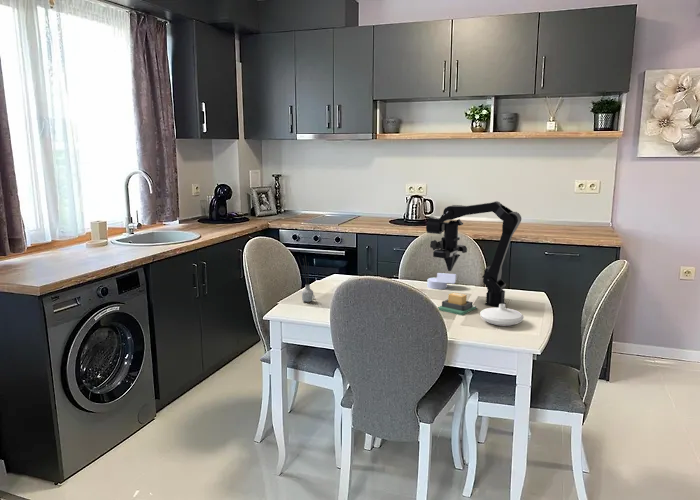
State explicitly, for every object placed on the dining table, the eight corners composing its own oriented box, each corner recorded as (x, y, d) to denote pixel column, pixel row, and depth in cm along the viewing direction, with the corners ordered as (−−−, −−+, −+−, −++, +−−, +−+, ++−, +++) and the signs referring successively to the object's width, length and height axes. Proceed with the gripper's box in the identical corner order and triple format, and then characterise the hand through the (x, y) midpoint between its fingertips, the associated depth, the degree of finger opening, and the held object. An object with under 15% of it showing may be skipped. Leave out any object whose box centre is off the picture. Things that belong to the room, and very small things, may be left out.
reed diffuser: (310, 305, 228) (309, 257, 224) (294, 303, 230) (293, 256, 226) (317, 298, 238) (316, 252, 234) (302, 297, 239) (301, 252, 236)
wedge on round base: (456, 285, 260) (428, 283, 264) (456, 271, 259) (429, 270, 262) (454, 290, 252) (425, 288, 255) (455, 276, 250) (426, 274, 254)
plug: (466, 307, 223) (466, 294, 222) (461, 309, 220) (461, 296, 219) (452, 304, 227) (453, 291, 226) (448, 306, 224) (448, 293, 223)
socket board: (476, 308, 224) (476, 301, 224) (461, 315, 215) (462, 307, 215) (452, 303, 231) (452, 296, 231) (437, 309, 222) (437, 302, 222)
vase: (481, 328, 201) (482, 309, 199) (477, 315, 216) (478, 297, 215) (526, 330, 198) (527, 311, 197) (519, 317, 214) (520, 299, 212)
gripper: (445, 230, 246) (444, 264, 249) (422, 235, 232) (421, 271, 235) (468, 233, 239) (466, 268, 242) (445, 238, 225) (444, 276, 228)
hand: (449, 270), depth 237 cm, fingers closed
